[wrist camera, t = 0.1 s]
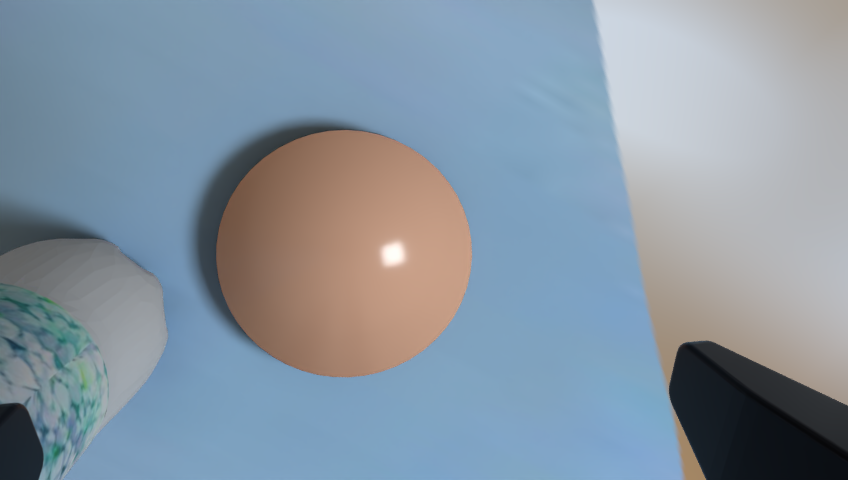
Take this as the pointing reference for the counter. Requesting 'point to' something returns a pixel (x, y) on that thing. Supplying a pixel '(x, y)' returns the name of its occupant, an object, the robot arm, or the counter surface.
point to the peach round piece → (343, 253)
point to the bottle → (75, 339)
